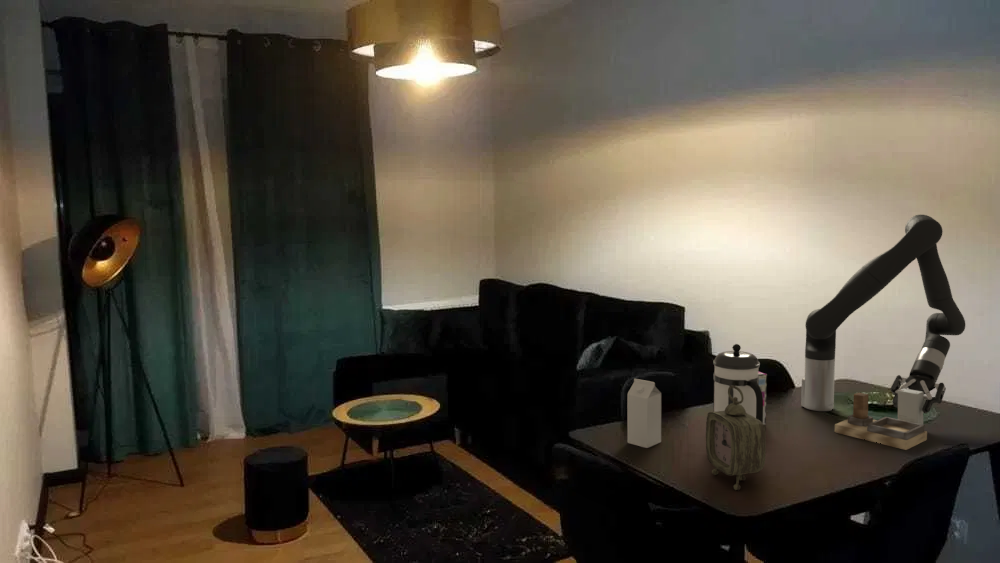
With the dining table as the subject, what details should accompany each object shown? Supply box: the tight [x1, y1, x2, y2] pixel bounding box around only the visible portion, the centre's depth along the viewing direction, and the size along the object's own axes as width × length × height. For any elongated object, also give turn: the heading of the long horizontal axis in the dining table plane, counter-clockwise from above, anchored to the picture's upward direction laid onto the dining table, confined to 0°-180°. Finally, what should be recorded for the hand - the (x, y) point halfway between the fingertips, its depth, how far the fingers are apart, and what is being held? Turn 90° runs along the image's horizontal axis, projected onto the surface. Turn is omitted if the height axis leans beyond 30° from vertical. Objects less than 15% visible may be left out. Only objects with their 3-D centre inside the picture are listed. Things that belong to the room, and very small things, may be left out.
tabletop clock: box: [705, 386, 767, 491], centre depth 192 cm, size 14×9×25 cm, turn 13°
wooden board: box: [834, 392, 928, 451], centre depth 224 cm, size 21×13×12 cm, turn 38°
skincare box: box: [897, 388, 925, 425], centre depth 229 cm, size 6×4×12 cm
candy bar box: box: [758, 370, 768, 426], centre depth 241 cm, size 11×5×16 cm, turn 16°
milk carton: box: [626, 378, 662, 449], centre depth 223 cm, size 7×7×19 cm
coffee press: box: [712, 343, 763, 423], centre depth 217 cm, size 17×16×30 cm
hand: (909, 408), depth 229 cm, fingers open, 8 cm apart
